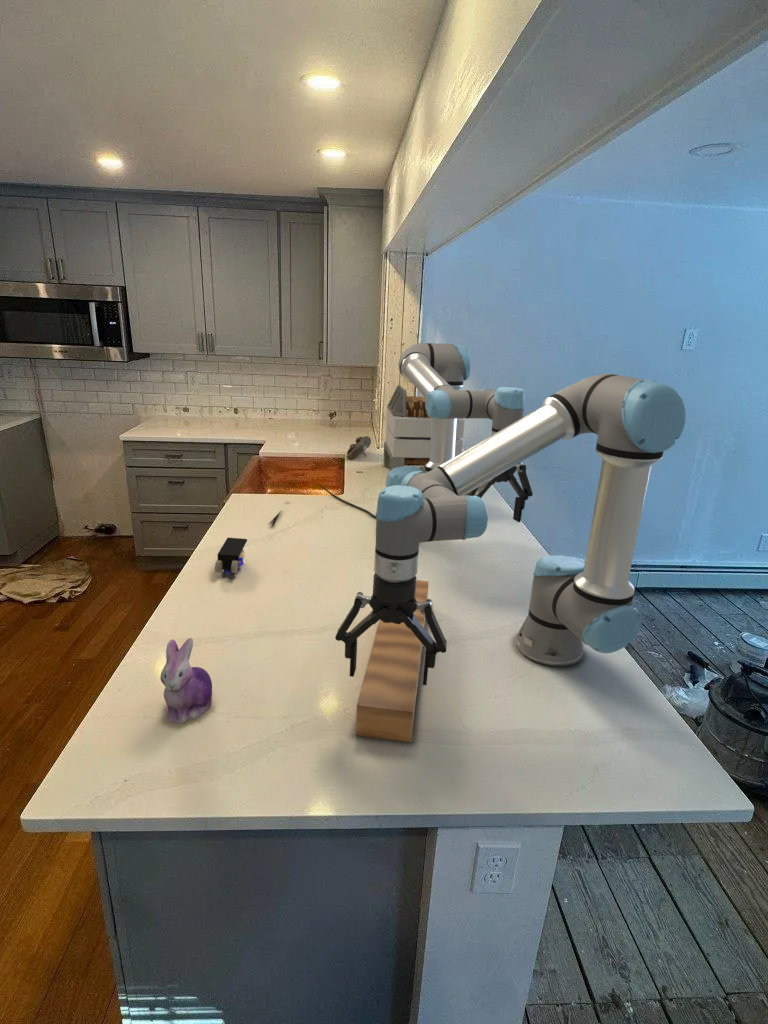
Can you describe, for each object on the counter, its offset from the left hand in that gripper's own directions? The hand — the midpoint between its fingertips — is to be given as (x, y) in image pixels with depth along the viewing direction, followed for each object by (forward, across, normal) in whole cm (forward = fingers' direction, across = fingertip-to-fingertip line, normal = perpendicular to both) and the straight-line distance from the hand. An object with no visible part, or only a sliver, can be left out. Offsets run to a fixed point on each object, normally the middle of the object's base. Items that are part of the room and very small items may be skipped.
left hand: (495, 522), depth 157 cm
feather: (+20, -46, +74) cm, 90 cm away
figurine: (+20, -83, -29) cm, 90 cm away
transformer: (+19, +30, +116) cm, 121 cm away
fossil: (+19, +11, +154) cm, 155 cm away
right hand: (+11, -48, -43) cm, 65 cm away
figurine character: (+20, -68, +32) cm, 78 cm away
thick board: (+20, -38, -24) cm, 49 cm away
